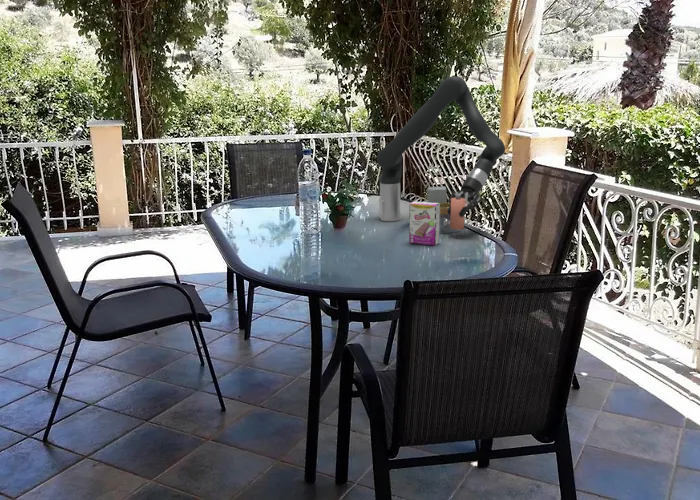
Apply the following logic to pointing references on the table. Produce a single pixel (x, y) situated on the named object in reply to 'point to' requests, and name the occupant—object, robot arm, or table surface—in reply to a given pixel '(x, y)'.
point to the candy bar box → (424, 223)
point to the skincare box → (437, 195)
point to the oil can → (457, 212)
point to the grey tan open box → (445, 219)
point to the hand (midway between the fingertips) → (454, 214)
